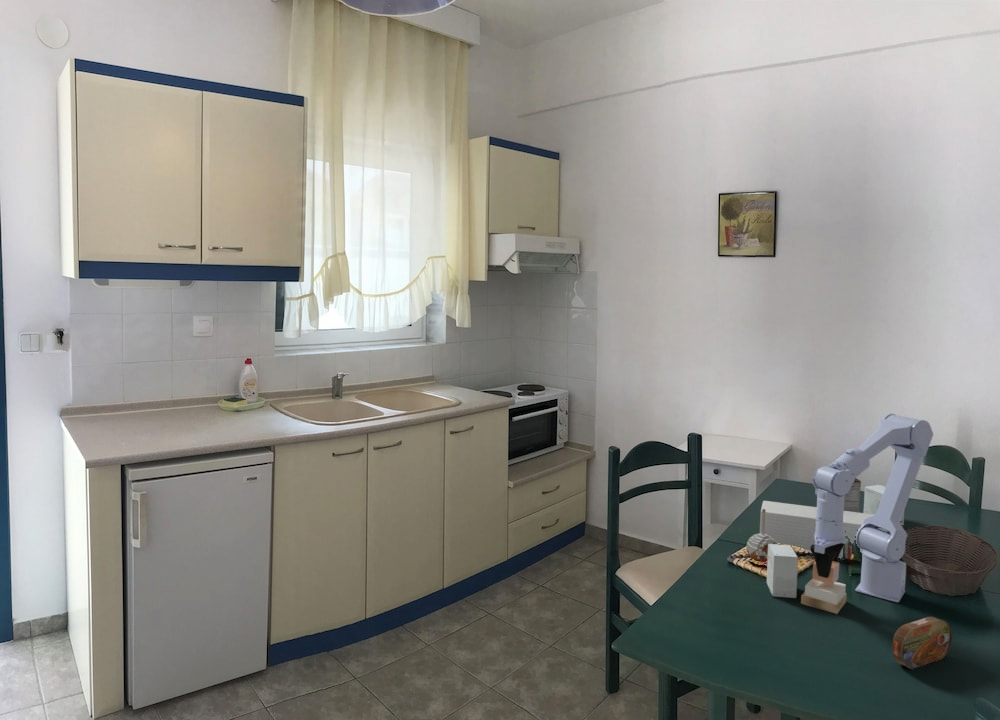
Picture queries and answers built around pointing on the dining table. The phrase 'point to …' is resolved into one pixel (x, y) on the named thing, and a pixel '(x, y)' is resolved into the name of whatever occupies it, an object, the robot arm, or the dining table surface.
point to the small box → (782, 570)
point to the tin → (922, 642)
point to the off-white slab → (825, 591)
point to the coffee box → (853, 497)
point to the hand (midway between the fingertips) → (826, 573)
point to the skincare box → (875, 499)
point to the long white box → (803, 524)
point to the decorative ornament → (759, 543)
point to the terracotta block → (832, 576)
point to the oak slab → (823, 603)
